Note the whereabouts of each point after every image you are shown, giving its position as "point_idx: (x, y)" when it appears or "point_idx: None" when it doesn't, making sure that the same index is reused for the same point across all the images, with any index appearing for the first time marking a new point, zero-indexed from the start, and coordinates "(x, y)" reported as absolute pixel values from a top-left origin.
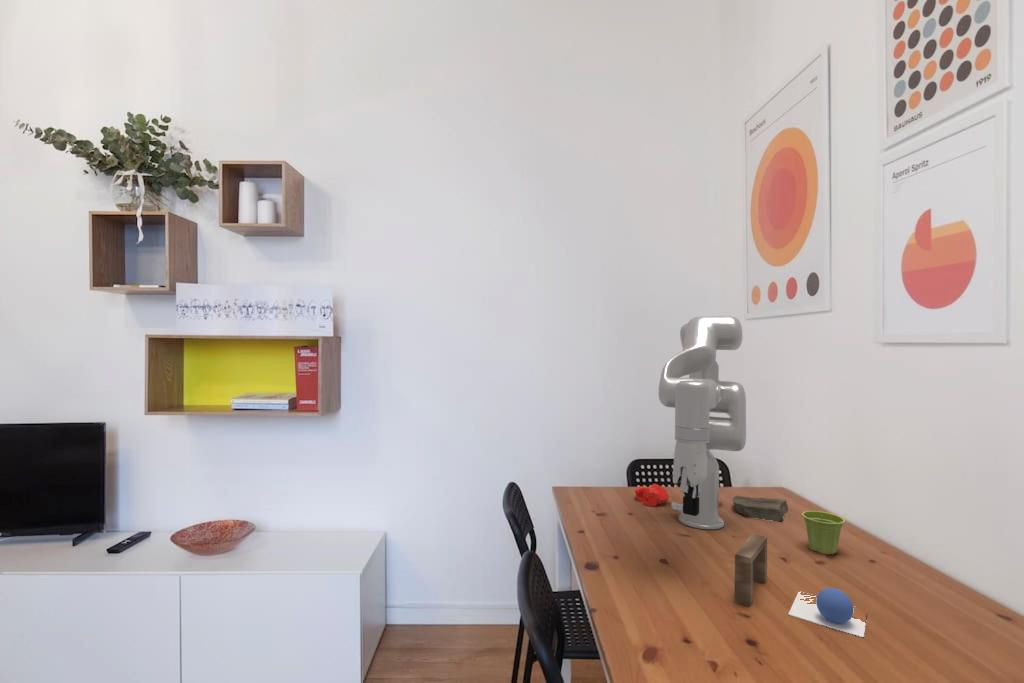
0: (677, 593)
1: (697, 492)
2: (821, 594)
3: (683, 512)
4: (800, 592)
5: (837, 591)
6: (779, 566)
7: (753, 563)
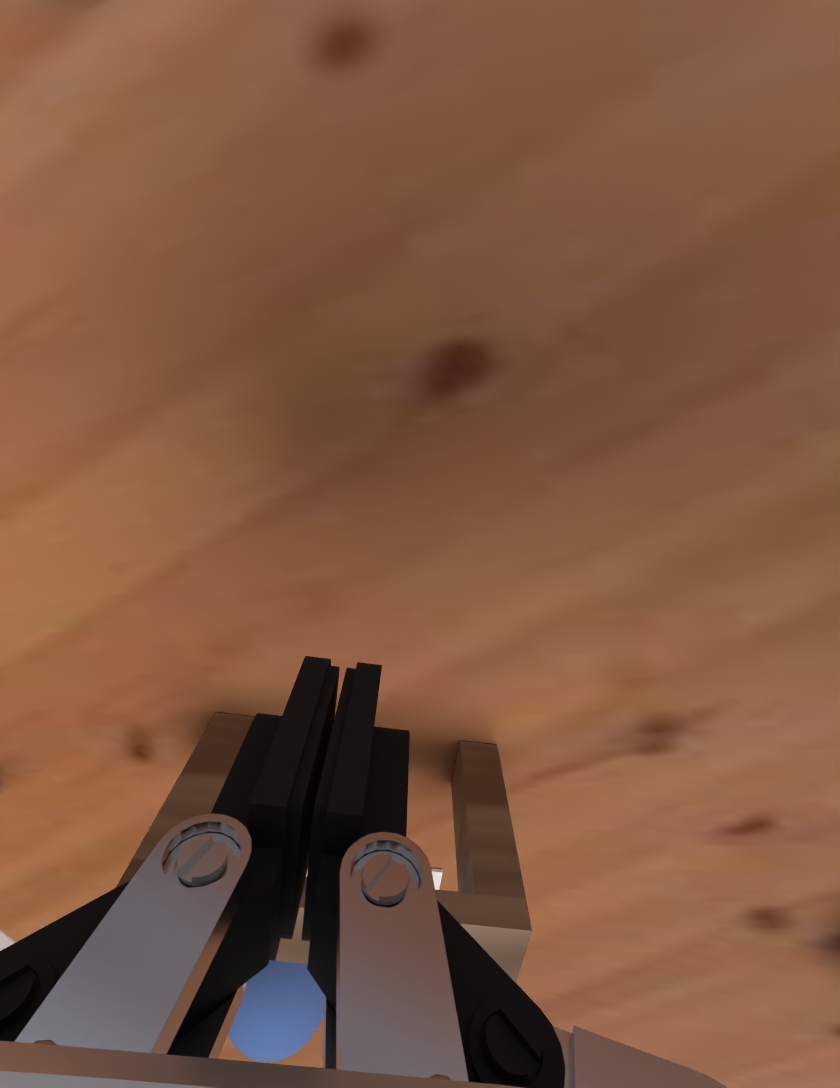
0: (128, 516)
1: (323, 1031)
2: (248, 1003)
3: (306, 660)
4: (433, 876)
5: (256, 1057)
6: (658, 816)
7: (463, 806)
